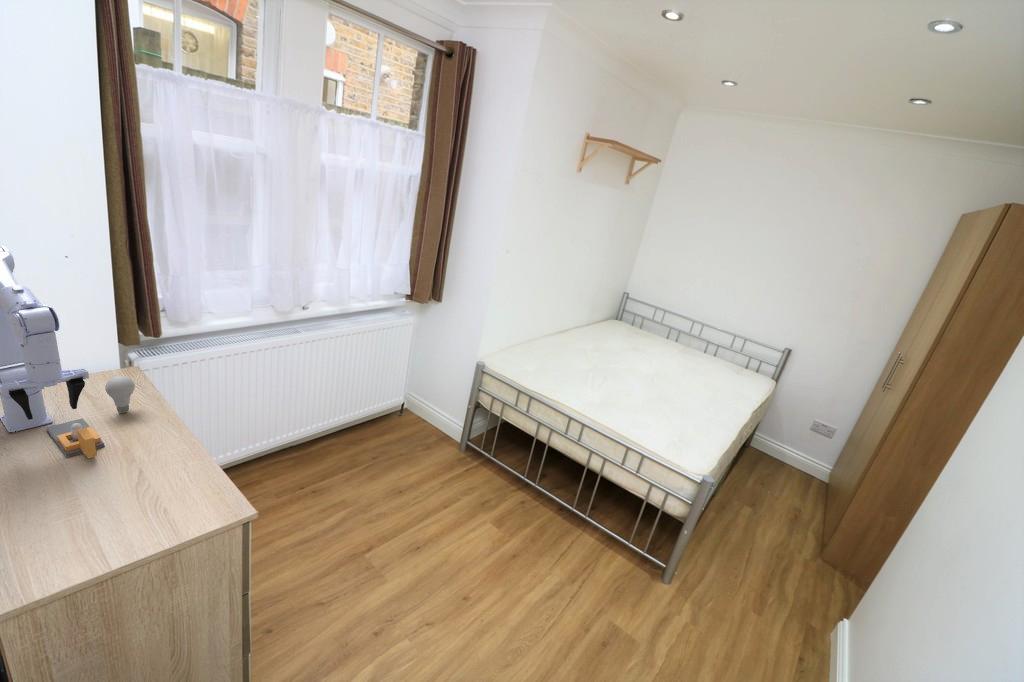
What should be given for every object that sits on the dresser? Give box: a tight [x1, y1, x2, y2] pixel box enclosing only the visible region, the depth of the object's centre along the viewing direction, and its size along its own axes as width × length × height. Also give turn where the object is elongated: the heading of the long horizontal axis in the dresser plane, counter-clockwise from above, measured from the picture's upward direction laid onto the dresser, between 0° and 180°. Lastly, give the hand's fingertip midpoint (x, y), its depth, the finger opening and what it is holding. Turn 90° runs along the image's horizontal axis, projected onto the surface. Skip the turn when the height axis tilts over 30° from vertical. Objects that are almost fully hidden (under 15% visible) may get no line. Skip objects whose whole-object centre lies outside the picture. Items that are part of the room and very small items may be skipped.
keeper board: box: [45, 418, 105, 458], centre depth 116 cm, size 15×7×6 cm, turn 55°
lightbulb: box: [104, 375, 136, 414], centre depth 127 cm, size 6×6×11 cm
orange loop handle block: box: [57, 426, 102, 459], centre depth 112 cm, size 12×6×5 cm, turn 55°
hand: (52, 412), depth 110 cm, fingers open, 7 cm apart
